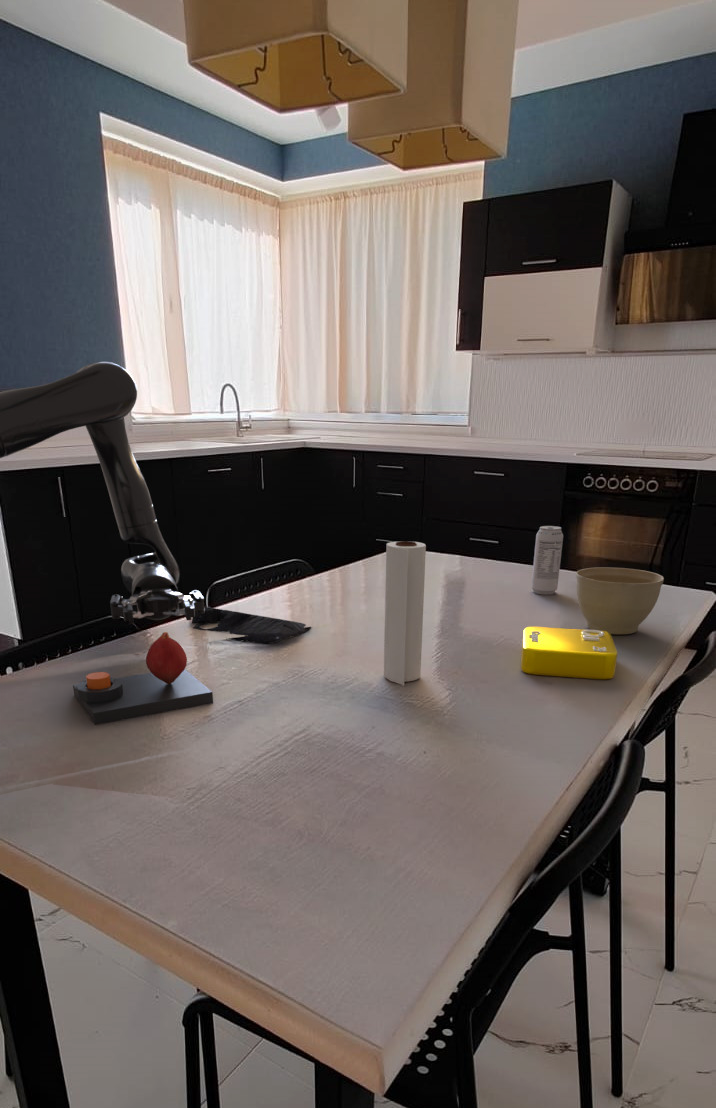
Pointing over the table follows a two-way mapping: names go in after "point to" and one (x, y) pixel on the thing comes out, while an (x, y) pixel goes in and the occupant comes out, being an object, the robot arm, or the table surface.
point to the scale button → (98, 680)
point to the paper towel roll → (404, 610)
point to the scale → (141, 697)
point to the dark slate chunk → (249, 625)
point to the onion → (166, 659)
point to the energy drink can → (547, 560)
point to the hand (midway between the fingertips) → (160, 615)
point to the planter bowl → (617, 597)
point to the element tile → (568, 653)
